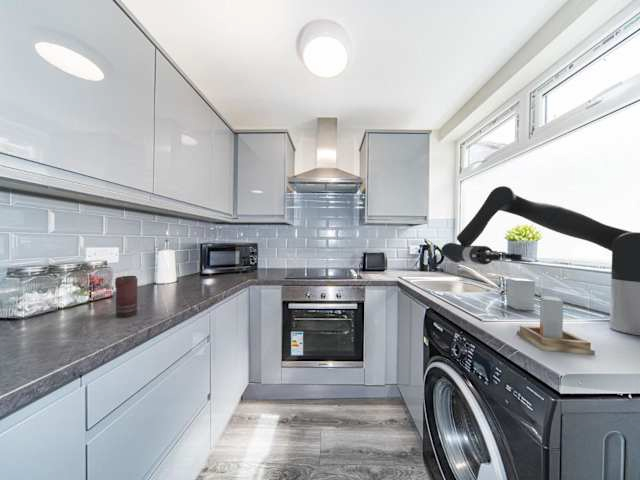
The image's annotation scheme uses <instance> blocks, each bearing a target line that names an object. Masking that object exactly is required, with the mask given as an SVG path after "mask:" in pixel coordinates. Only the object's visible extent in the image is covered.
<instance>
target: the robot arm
mask: <svg viewBox="0 0 640 480" xmlns="http://www.w3.org/2000/svg"><path fill="white" fill-rule="evenodd" d="M499 211H501V212H504V213H509V214H512V215H514V216H515V215H516V216H518V217H520V218H523V219H526V220H527V221H530V222H532V223H534V224H536V225H539V226H541V227H543V228H546V229H549V230H551V231H553V232H555V233H559V234H561V235H565V236H568V237H572V238H576V239H579V240H583V241H586V242H590V243H592V244H595V245H597V246H600V247H602V248H603V249H606V250H608V251H610V252H612V253H611V254H612V255H611V275H610V276H611V278H610V279H611V281H610V305H609V306H610V309H609V313H610V314H609V328H610V329H612V330H614V331H617V332H621V333H624V334H629V335H634V336H640V232H638V231H637V232H635V231H629V230H625V229H622V228H618V227H614V226H611V225H607V224H604V223H603V222H600V221H598V220H595V219H594V218H592V217H589V216H587V215H586V214H583V213H579V212H578V211H575V210H572V209H569V208H567V207H562V206H560V205H556V204H551V203H546V202H545V203H544V202H537V201H536V202H535V201H531V200H528V199H526V198H523V197H521V196H519V195H517V194H515V193H514V191H513V189H512V188H511V187H509V186H506V185H505V186H504V185H503V186H502V185H501V186H497V187H495V188H494V189H492V190H491V192H489V194H488V196H487V197H486V199H485V201H484V202H483V203H482V206H481V207H480V209H478V211H477V212H476V213H475V215H474V216H473V218H472V219H471V220H470V221H469V223H468V224H467V225H465V227H464V228H463V229H462V230H461V232H460V233H459V234H458V235H457V236H456V240H457V241H458V242H459V243H460V244H458V243H454V242H447V243H445V244H444V245H443V246H442V247H441V254H442V256H444V257H445V258H447V259H448V260H450V261H452V262H453V263H461V262H466V263H470V264H475V265H476V264H477V265H489V264H490V263H491V262H492V261H493V262H496V261H503V262H505V261H507V260H508V261H522V257H523V256H522V254H520V253H516V252H506V251H497V250H493V249H492V248H490V247H489V246H487V245H473V243H475V241H477V239H478V238H479V237H480V236H481V234H483V232H484V230H485V228H486V227H487V226H488V224H489V222H490V221H491V219H492V218H493V217H494V216H495V215H496V214H497V213H498V212H499Z"/></svg>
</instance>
